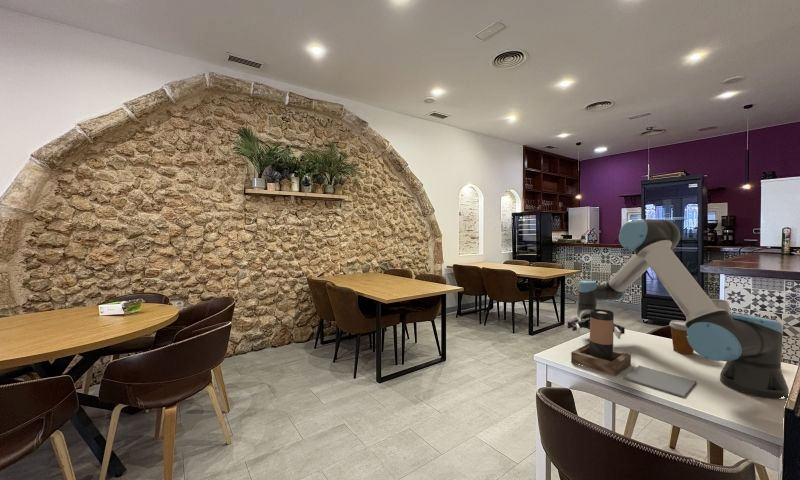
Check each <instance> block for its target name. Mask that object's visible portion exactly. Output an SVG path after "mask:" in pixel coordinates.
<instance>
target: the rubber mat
mask: <svg viewBox="0 0 800 480" xmlns="http://www.w3.org/2000/svg"><path fill="white" fill-rule="evenodd" d="M622 379H623V380H625V381H628V382H632V383H635V384H637V385H640V386H644V387H647V388H651V389H654V390H656V391H659V392H664V393H667V394H669V395H673V396H677V397H680V398H683V399H685V397H686V396H687V395H688V393H690V391H691V390H692V389H693V387H695V385H696V384H697V380H694V379H690V378H686V377H683V376H679V375H676V374H671V373H668V372H664V371H661V370H657V369H655V368H650V367H646V366H643V365H638V366H636V367H635V368H634V369H633V370H631V371H629V372H628V373H627V374H626V375H625V376H623V378H622Z"/></svg>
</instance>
